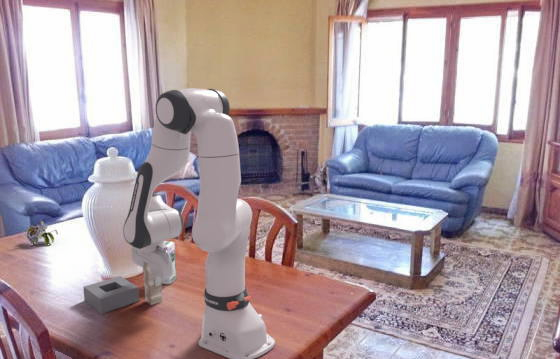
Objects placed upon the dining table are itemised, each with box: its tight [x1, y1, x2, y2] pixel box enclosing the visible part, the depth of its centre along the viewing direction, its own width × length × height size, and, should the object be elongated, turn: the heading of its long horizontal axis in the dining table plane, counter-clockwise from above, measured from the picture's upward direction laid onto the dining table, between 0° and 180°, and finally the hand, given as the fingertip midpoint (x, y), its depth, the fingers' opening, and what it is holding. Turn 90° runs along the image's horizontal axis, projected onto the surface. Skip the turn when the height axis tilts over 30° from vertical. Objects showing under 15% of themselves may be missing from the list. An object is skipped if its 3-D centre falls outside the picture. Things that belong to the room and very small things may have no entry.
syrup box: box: [161, 240, 178, 285], centre depth 179 cm, size 6×6×14 cm
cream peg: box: [143, 262, 163, 306], centre depth 163 cm, size 4×4×14 cm
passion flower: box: [25, 220, 59, 245], centre depth 221 cm, size 11×11×12 cm
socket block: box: [83, 275, 140, 315], centre depth 164 cm, size 13×13×5 cm
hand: (152, 282), depth 163 cm, fingers closed on cream peg, 4 cm apart
